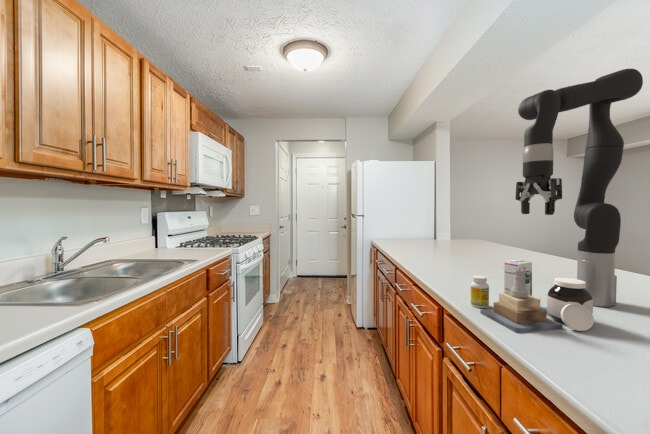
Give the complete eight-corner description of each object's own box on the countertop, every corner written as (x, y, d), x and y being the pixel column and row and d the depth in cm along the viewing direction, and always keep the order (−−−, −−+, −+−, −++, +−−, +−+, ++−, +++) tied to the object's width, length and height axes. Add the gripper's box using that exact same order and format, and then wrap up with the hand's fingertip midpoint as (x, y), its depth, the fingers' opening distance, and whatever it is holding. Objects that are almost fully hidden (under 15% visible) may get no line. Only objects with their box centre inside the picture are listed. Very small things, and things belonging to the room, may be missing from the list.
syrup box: (520, 308, 95) (520, 263, 95) (503, 302, 101) (503, 260, 100) (532, 306, 97) (533, 261, 97) (514, 300, 103) (515, 258, 102)
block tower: (521, 310, 94) (521, 288, 93) (562, 328, 80) (563, 302, 79) (480, 313, 92) (480, 290, 91) (515, 332, 78) (515, 305, 78)
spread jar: (570, 314, 89) (571, 276, 89) (613, 330, 78) (614, 286, 78) (536, 318, 87) (536, 278, 87) (574, 334, 76) (575, 289, 76)
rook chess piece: (506, 294, 87) (506, 267, 87) (520, 293, 88) (521, 266, 87) (517, 298, 83) (517, 270, 83) (532, 298, 83) (532, 269, 83)
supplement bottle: (476, 302, 102) (476, 274, 101) (492, 306, 97) (492, 277, 97) (467, 305, 99) (467, 276, 98) (483, 309, 94) (483, 279, 94)
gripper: (571, 157, 84) (569, 215, 84) (529, 164, 98) (528, 213, 98) (547, 157, 83) (546, 215, 83) (508, 164, 97) (508, 214, 97)
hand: (536, 214), depth 91 cm, fingers open, 8 cm apart
